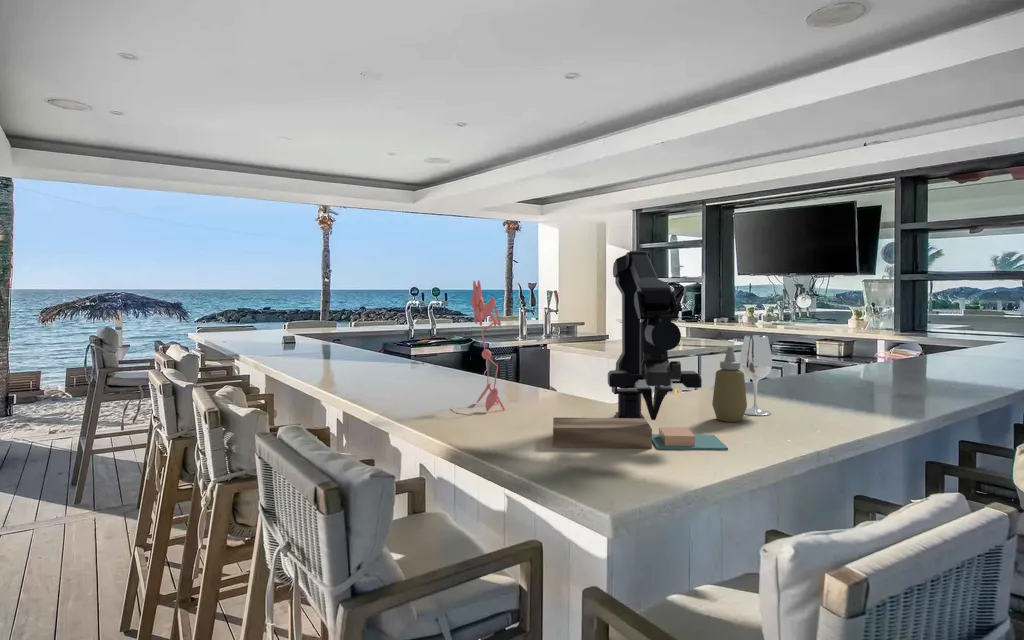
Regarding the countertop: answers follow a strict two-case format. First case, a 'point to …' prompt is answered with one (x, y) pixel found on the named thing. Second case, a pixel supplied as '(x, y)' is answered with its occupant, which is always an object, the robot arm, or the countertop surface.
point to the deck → (602, 432)
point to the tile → (676, 436)
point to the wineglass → (756, 365)
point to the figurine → (479, 313)
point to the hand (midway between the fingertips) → (653, 419)
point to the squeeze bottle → (729, 390)
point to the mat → (700, 443)
